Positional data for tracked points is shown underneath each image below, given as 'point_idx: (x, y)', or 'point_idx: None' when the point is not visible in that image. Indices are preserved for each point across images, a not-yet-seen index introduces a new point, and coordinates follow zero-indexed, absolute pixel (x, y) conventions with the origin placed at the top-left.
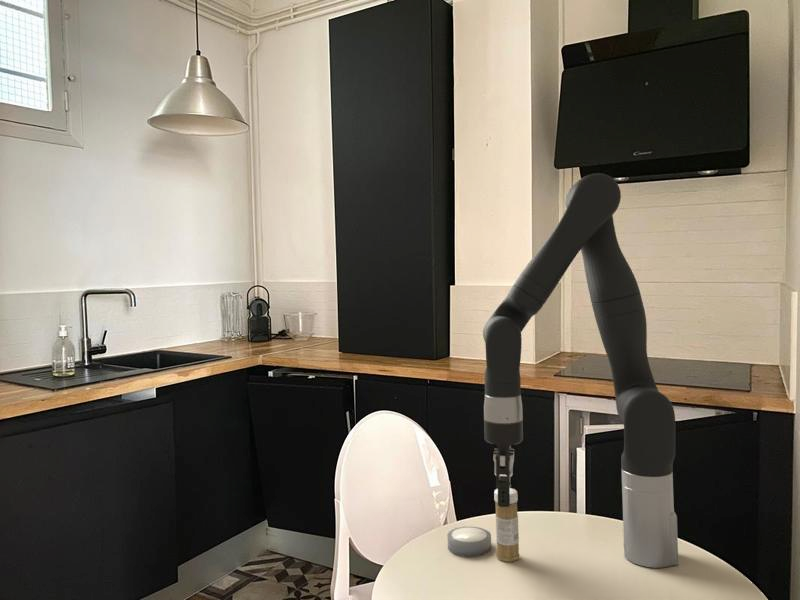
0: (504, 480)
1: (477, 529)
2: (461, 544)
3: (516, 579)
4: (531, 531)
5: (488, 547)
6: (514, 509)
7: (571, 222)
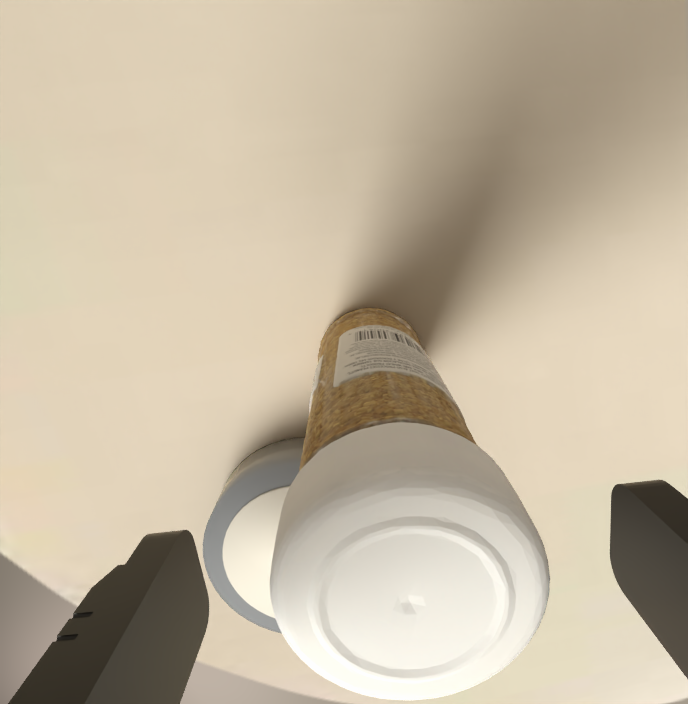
0: (148, 693)
1: (236, 536)
2: None
3: (573, 289)
4: (44, 292)
5: None
6: (446, 414)
7: None
